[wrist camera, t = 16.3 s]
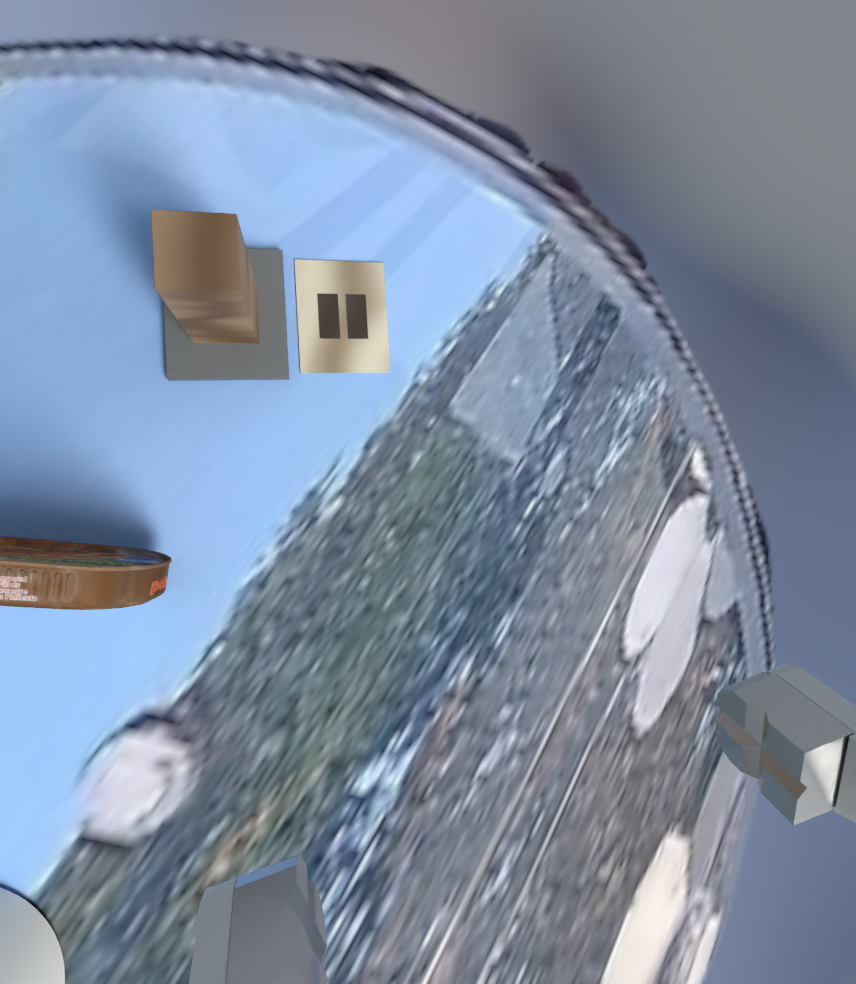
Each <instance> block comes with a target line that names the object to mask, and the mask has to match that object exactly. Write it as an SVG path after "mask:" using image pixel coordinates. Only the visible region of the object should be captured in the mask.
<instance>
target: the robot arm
mask: <svg viewBox="0 0 856 984" xmlns="http://www.w3.org/2000/svg"><path fill="white" fill-rule="evenodd" d="M717 705H718V706H719V707H720V708H721V709H722V710H723V711H722V712H721V714H720V715H719V717H718V719H717V720H716V736H717V738H718V741H719V743H720V745H721V748H722V750H723V751H724V752H725V754H726V755H727V757H728V758H729V760H730V761H731V762H732V763H733V764H734V765H735V766H736V767H737V768H738V769H739V770H740V771H741V772H743V773H745V774H748V775H750V776H752V777H755V778H757V779H758V782H759V786H760V790H761V793H762V794H763V795H764V796H765V797H766V798H767V799H768V800H769V801H770V802H771V803H772V804H773V805H774V806H775V807H776V808H777V809H778V810H779V811H780V812H781V813H782V814H783V815H784V816H785V817H786V818H787V819H788V820H789V821H790V822H791V823H792V824H793V825H796V824H798V823H801V822H803V821H806V820H808V819H810V818H813V817H815V816H818V815H820V814H823V813H825V812H828V811H830V810H832V809H835V812H836V813H838V814H840V815H842V816H844V817H846V818H848V819H850V820H852V821H853V822H855V823H856V706H854V705H853V704H851V703H850V702H849V701H847V700H846V699H844V698H843V697H841V696H840V695H839V694H837V693H836V692H834V691H833V690H832V689H830V688H829V687H827V686H826V685H824V684H823V683H822V682H820V681H819V680H817V679H816V678H814V677H813V676H811V675H810V674H809V673H807V672H806V671H804V670H803V669H802V668H800V667H798V666H796V665H793V664H790V663H788V664H784V665H781V666H779V667H776V668H774V669H772V670H769V671H767V672H762V673H759V674H757V675H754V676H752V677H750V678H747V679H745V680H742V681H740V682H737V683H735V684H733V685H730V686H728V687H725V688H723V689H721V691H720V692H719V693H718V695H717ZM326 948H327V943H326V931H325V922H324V916H323V910H322V904H321V901H320V897H319V894H318V891H317V888H316V886H315V884H314V882H312V881H309V880H307V865H306V863H305V861H304V859H303V857H302V855H301V854H299V855H296V856H294V857H291V858H288V859H285V860H283V861H280V862H277V863H275V864H272V865H269V866H267V867H264V868H261V869H258V870H256V871H253V872H250V873H248V874H245V875H242V876H240V877H236V878H233V879H231V880H228V881H226V882H223V883H221V884H218V885H215V886H213V887H210V888H208V889H206V890H205V892H204V895H203V898H202V900H201V903H200V909H199V916H198V923H197V930H196V937H195V944H194V952H193V959H192V966H191V973H190V980H189V984H329V980H328V978H327V976H326V973H325V971H324V969H323V967H322V965H321V960H322V958H323V955H324V953H325V951H326ZM0 984H65V971H64V961H63V956H62V952H61V948H60V945H59V942H58V940H57V938H56V935H55V933H54V931H53V930H52V928H51V926H50V925H49V923H48V922H47V920H46V919H45V918H44V917H43V915H42V914H41V913H40V912H39V911H38V910H37V909H36V908H35V907H33V906H32V905H31V904H30V903H29V902H27V901H26V900H24V899H23V898H21V897H20V896H18V895H16V894H14V893H12V892H10V891H8V890H6V889H3V888H1V887H0Z"/></svg>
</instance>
